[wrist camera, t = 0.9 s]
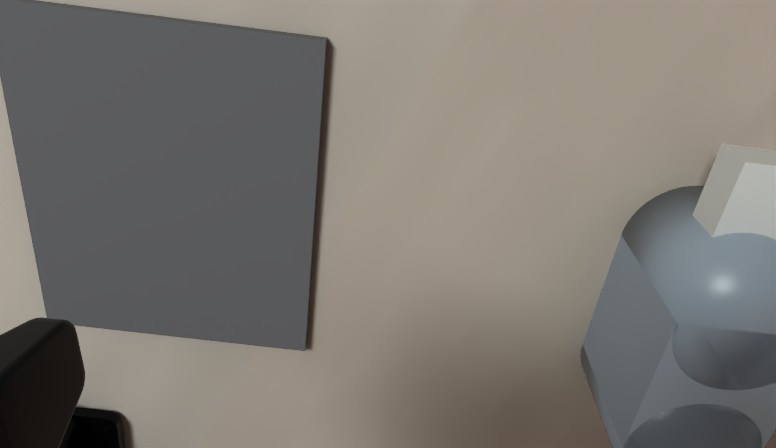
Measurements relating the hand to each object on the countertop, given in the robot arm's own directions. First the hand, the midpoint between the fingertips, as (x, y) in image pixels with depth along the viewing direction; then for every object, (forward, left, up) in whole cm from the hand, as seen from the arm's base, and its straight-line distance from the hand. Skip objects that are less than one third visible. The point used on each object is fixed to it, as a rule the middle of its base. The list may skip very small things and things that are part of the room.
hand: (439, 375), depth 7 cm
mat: (-5, +8, -13) cm, 16 cm away
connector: (-6, -10, -13) cm, 17 cm away
